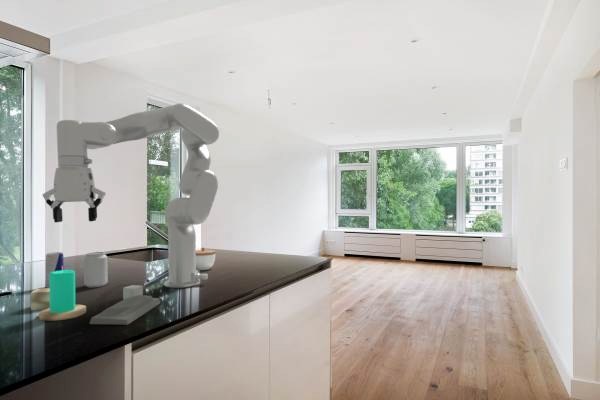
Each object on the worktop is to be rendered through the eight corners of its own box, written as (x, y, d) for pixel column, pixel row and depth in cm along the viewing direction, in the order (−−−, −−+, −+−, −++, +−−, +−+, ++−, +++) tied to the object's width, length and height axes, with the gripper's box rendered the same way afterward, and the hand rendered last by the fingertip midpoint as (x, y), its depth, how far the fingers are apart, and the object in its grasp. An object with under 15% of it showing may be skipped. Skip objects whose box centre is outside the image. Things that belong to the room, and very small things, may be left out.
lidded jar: (193, 266, 177) (192, 246, 177) (216, 266, 178) (216, 245, 178) (188, 271, 167) (188, 249, 166) (214, 270, 168) (213, 249, 168)
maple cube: (56, 304, 116) (56, 287, 116) (51, 308, 112) (50, 291, 112) (37, 305, 115) (36, 288, 115) (30, 310, 110) (30, 292, 110)
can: (97, 288, 136) (97, 254, 136) (79, 287, 137) (78, 253, 137) (112, 283, 143) (111, 251, 143) (94, 282, 145) (94, 250, 145)
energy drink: (67, 285, 140) (66, 252, 140) (52, 289, 135) (51, 254, 135) (57, 284, 142) (57, 251, 142) (42, 287, 137) (42, 253, 137)
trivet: (93, 308, 111) (93, 304, 111) (72, 320, 100) (72, 315, 100) (54, 308, 111) (54, 304, 111) (29, 321, 100) (29, 316, 100)
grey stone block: (142, 298, 122) (142, 285, 122) (133, 301, 119) (133, 288, 119) (132, 297, 124) (132, 284, 124) (123, 300, 120) (123, 287, 120)
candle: (56, 314, 102) (56, 268, 101) (45, 310, 105) (44, 266, 105) (79, 308, 107) (79, 265, 107) (68, 305, 110) (67, 263, 110)
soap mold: (88, 326, 97) (88, 312, 97) (128, 304, 117) (128, 292, 117) (127, 327, 97) (127, 313, 97) (161, 304, 117) (161, 293, 117)
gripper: (108, 163, 118) (111, 219, 118) (49, 164, 117) (52, 221, 117) (97, 161, 110) (100, 221, 111) (34, 163, 109) (37, 223, 110)
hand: (75, 221), depth 114 cm, fingers open, 9 cm apart
